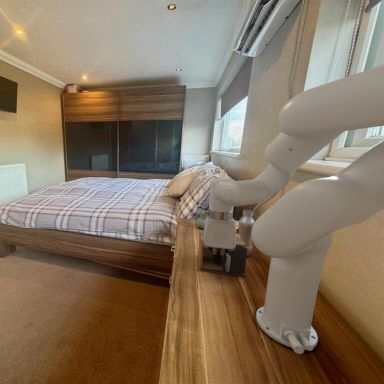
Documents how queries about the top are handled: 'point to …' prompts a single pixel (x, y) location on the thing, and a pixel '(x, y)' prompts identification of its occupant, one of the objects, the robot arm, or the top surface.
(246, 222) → the plastic bottle
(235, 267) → the sliding door
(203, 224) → the air freshener
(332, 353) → the top surface
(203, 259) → the cabinet
